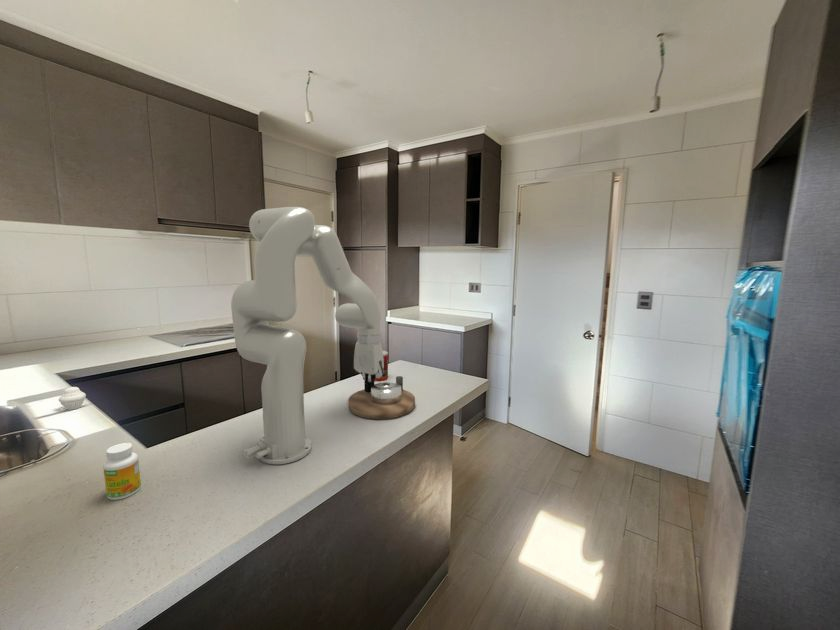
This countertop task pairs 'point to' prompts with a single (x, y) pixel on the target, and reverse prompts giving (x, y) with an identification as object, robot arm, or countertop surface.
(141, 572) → the countertop surface
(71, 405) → the muffin
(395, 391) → the cover
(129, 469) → the supplement bottle
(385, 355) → the canned food
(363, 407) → the turntable
